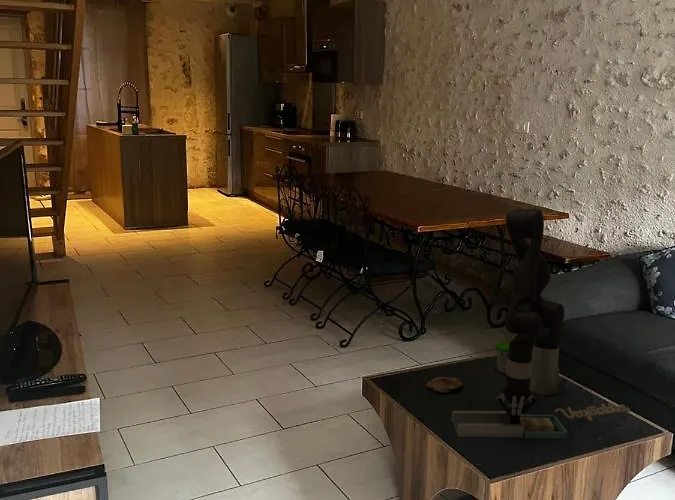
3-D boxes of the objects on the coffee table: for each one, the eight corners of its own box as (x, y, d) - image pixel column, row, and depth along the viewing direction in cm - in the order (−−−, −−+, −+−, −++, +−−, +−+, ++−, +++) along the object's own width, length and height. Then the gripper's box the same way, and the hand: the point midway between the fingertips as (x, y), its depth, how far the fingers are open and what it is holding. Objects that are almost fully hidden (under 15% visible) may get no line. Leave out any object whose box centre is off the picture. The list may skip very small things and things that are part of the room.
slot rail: (512, 423, 211) (513, 410, 210) (523, 440, 201) (524, 426, 200) (451, 423, 211) (452, 410, 210) (458, 440, 200) (459, 426, 199)
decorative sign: (570, 422, 211) (552, 409, 220) (570, 425, 211) (552, 411, 221) (638, 413, 219) (617, 400, 228) (637, 416, 219) (617, 403, 228)
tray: (553, 422, 212) (554, 414, 212) (567, 441, 201) (568, 432, 200) (513, 422, 212) (514, 414, 211) (525, 441, 200) (525, 432, 200)
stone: (437, 398, 230) (438, 390, 229) (422, 386, 238) (422, 378, 238) (468, 391, 236) (469, 383, 235) (452, 380, 244) (452, 372, 243)
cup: (493, 373, 250) (495, 336, 247) (493, 366, 258) (496, 330, 255) (514, 376, 248) (517, 339, 245) (514, 368, 256) (517, 332, 253)
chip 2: (547, 426, 208) (548, 418, 208) (553, 434, 203) (554, 425, 203) (532, 426, 208) (533, 418, 208) (537, 434, 203) (538, 425, 203)
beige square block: (531, 426, 208) (533, 418, 208) (536, 434, 203) (538, 425, 203) (515, 425, 208) (517, 416, 207) (520, 432, 203) (522, 423, 203)
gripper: (535, 368, 206) (531, 419, 209) (494, 368, 205) (490, 419, 209) (543, 378, 198) (538, 430, 202) (500, 377, 198) (496, 430, 202)
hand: (514, 424), depth 205 cm, fingers closed
